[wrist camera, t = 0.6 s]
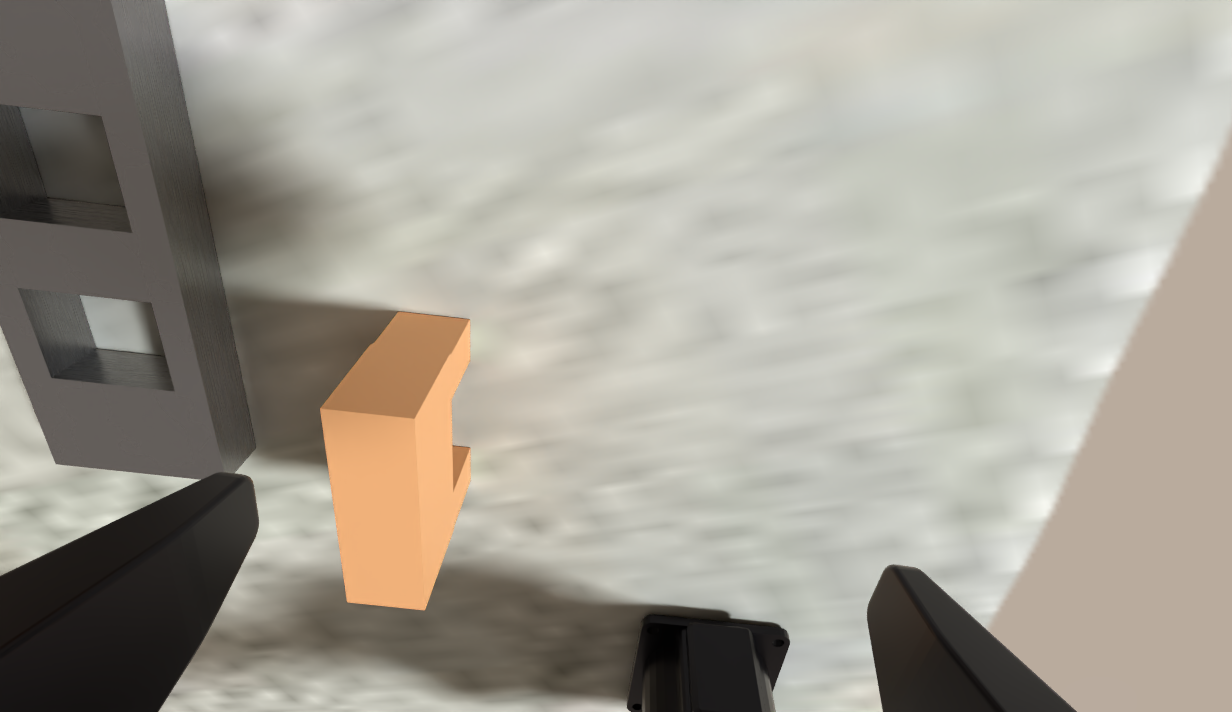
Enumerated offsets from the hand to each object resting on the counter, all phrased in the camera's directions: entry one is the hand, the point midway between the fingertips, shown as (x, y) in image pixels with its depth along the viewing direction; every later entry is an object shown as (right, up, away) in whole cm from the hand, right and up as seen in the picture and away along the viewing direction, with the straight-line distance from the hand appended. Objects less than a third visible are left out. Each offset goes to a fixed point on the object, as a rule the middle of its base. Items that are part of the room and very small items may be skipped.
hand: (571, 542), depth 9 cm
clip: (-6, +1, +14) cm, 15 cm away
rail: (-15, +6, +12) cm, 20 cm away
